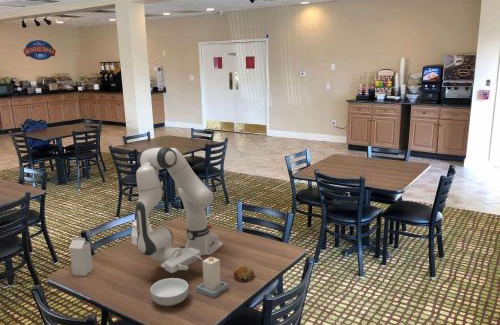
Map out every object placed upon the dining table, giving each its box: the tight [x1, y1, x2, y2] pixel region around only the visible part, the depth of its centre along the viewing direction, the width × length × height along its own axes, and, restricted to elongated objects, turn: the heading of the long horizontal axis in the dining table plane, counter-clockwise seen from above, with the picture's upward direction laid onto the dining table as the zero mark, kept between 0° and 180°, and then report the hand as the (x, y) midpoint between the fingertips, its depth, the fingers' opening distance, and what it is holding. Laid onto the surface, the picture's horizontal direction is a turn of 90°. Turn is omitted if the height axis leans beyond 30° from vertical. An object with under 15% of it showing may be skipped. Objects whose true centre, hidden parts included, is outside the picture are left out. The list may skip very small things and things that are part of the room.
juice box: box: [202, 256, 221, 292], centre depth 196 cm, size 6×6×15 cm
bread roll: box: [233, 264, 255, 283], centre depth 209 cm, size 10×10×8 cm
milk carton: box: [68, 237, 94, 277], centre depth 216 cm, size 7×7×19 cm
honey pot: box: [130, 211, 154, 246], centre depth 254 cm, size 13×13×18 cm
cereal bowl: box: [149, 277, 189, 307], centre depth 189 cm, size 17×17×7 cm
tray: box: [195, 280, 229, 299], centre depth 197 cm, size 10×10×2 cm
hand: (194, 264), depth 202 cm, fingers open, 8 cm apart
